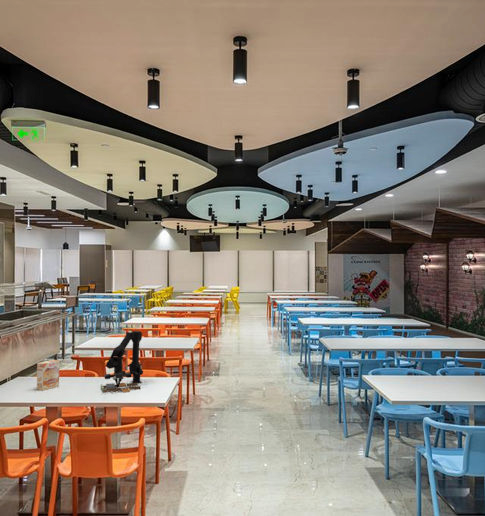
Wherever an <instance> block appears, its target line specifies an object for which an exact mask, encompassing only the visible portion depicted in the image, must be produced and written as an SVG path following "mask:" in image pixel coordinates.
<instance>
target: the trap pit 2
mask: <svg viewBox="0 0 485 516" xmlns="http://www.w3.org/2000/svg"><path fill="white" fill-rule="evenodd" d="M121 392H122V393H130V392H131V390H130V389H129V387H127V388H126V387H125V388H121Z"/></svg>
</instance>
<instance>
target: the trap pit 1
mask: <svg viewBox="0 0 485 516" xmlns="http://www.w3.org/2000/svg"><path fill="white" fill-rule="evenodd" d="M122 387H127V383H126V382H120V385H119V388H122Z"/></svg>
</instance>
